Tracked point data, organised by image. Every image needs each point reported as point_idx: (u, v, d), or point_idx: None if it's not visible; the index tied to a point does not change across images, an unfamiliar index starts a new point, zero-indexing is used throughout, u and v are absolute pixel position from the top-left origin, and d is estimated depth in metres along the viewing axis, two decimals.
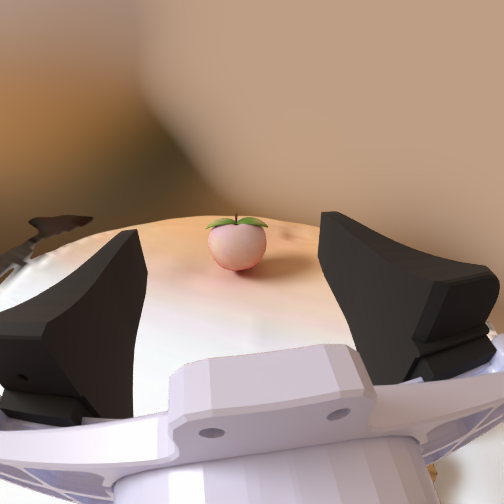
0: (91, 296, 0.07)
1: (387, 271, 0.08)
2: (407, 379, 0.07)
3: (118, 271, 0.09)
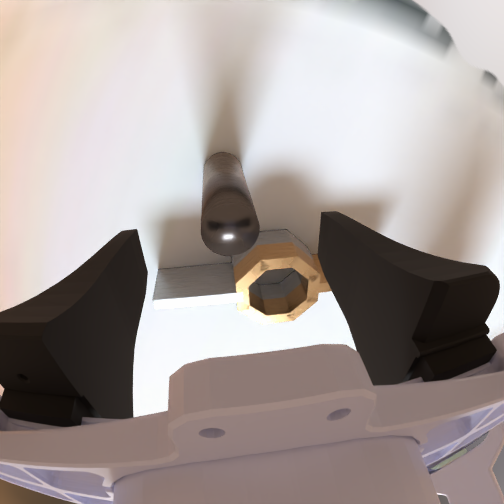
0: (91, 296, 0.07)
1: (387, 271, 0.08)
2: (407, 379, 0.07)
3: (118, 271, 0.09)
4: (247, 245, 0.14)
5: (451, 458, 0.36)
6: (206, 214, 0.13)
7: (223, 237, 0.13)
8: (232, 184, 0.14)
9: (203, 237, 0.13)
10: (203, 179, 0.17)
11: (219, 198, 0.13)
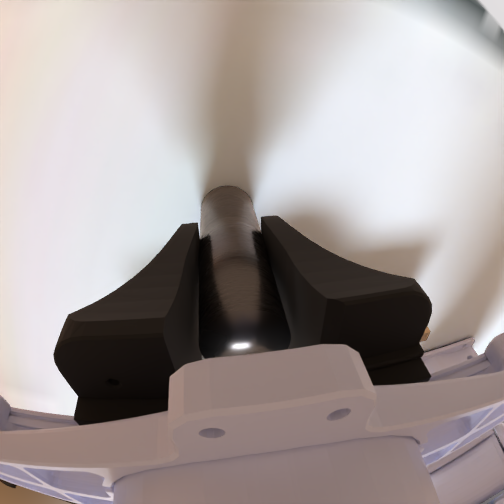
0: (181, 289, 0.07)
1: (299, 283, 0.07)
2: None
3: (191, 264, 0.09)
4: None
5: None
6: (206, 322, 0.08)
7: (234, 351, 0.08)
8: (245, 258, 0.09)
9: (203, 352, 0.08)
10: (200, 231, 0.12)
11: (227, 293, 0.08)
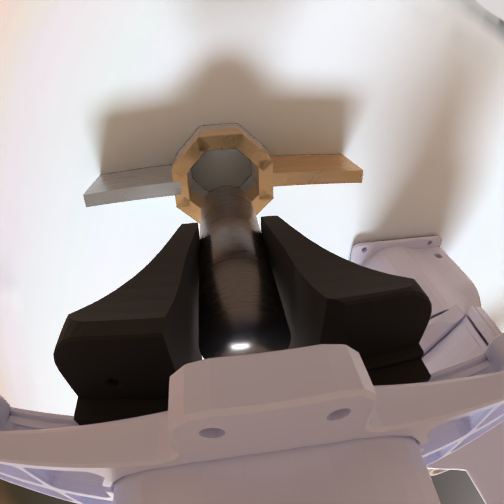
0: (181, 289, 0.07)
1: (299, 282, 0.07)
2: None
3: (191, 264, 0.09)
4: None
5: None
6: (206, 323, 0.08)
7: (234, 352, 0.08)
8: (245, 258, 0.09)
9: (203, 353, 0.08)
10: (200, 231, 0.12)
11: (227, 294, 0.08)
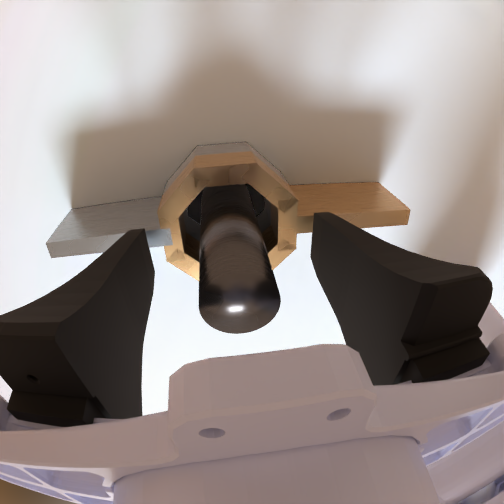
0: (102, 295, 0.07)
1: (376, 273, 0.08)
2: (397, 382, 0.07)
3: (127, 270, 0.09)
4: (263, 321, 0.10)
5: None
6: (206, 284, 0.09)
7: (230, 313, 0.09)
8: (240, 233, 0.10)
9: (202, 313, 0.09)
10: (201, 214, 0.14)
11: (224, 259, 0.09)
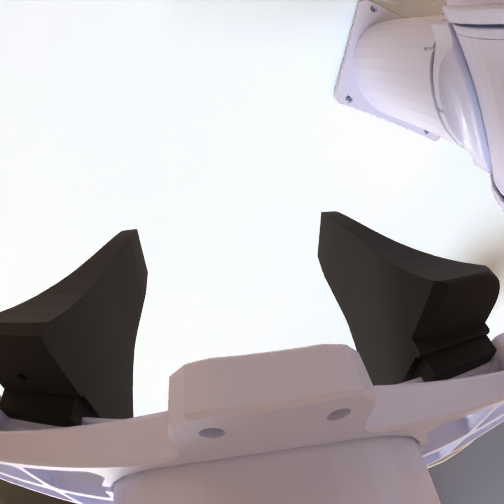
0: (91, 296, 0.07)
1: (387, 271, 0.08)
2: (407, 379, 0.07)
3: (118, 271, 0.09)
4: None
5: None
6: None
7: None
8: None
9: None
10: None
11: None
